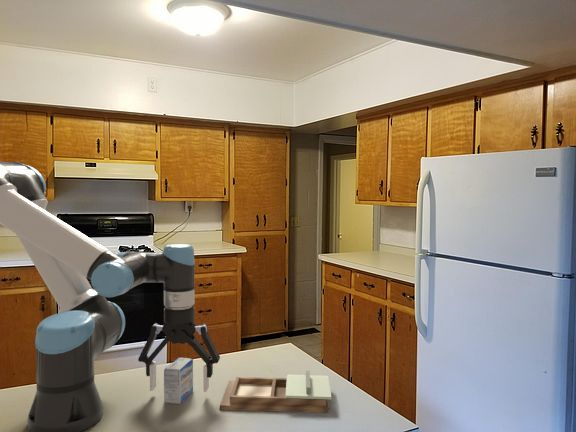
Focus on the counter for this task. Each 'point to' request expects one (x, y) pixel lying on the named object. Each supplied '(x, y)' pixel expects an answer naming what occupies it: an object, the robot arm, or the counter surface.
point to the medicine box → (178, 380)
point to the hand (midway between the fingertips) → (179, 389)
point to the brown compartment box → (266, 396)
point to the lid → (308, 386)
